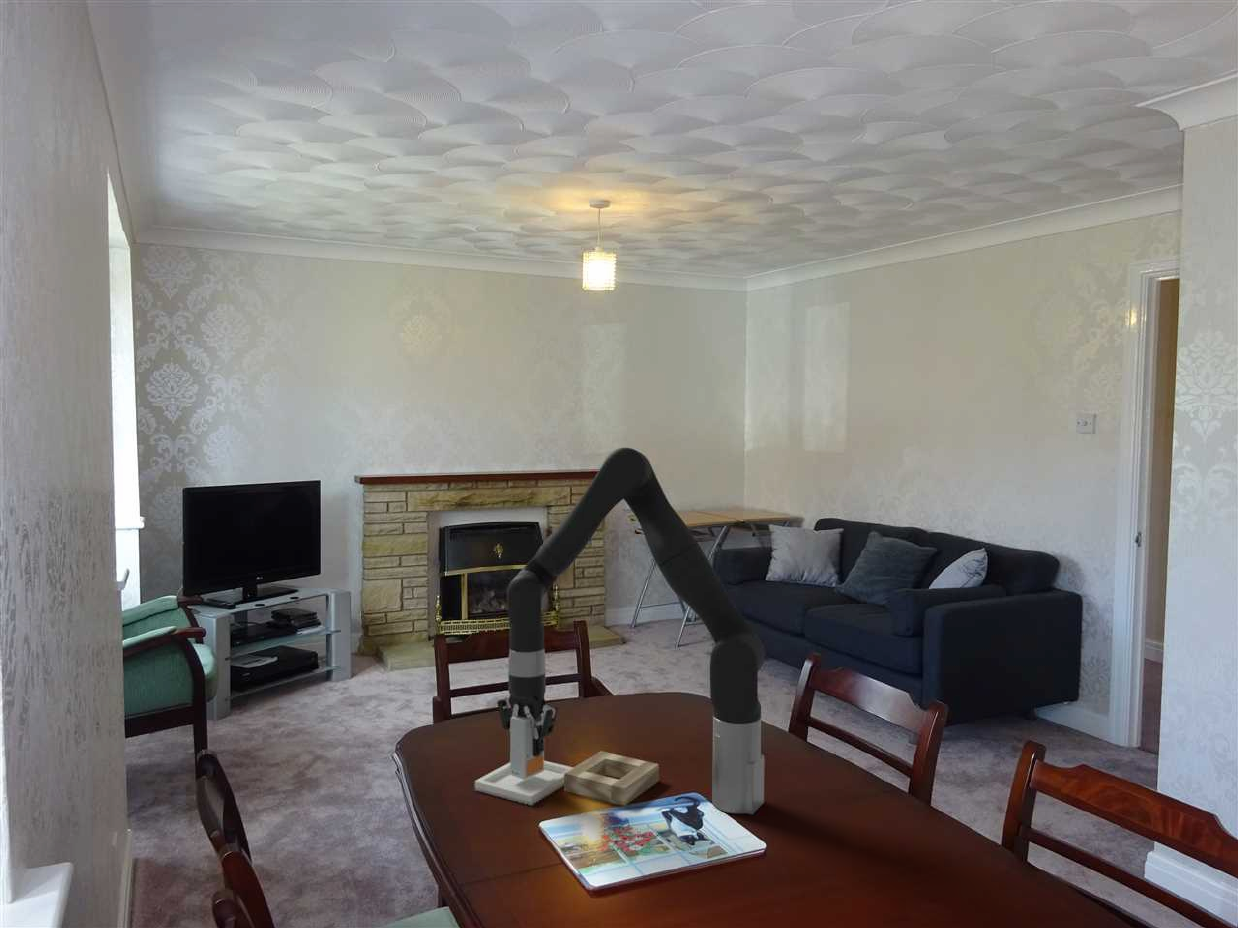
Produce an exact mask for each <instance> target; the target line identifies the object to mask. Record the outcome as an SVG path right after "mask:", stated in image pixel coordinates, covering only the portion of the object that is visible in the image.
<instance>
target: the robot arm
mask: <svg viewBox="0 0 1238 928" xmlns="http://www.w3.org/2000/svg"><path fill="white" fill-rule="evenodd" d="M623 500H624V501H625V503H626V504H627V505H628V507H629V509H630V510H631V511H632V513H633V514H634V516H635V518H636V519H637V521H638V523H639V524H640V528H641V530H642V532H643V535H644V537H645V541H646V544H647V546H648V549H649V551H650V553H651V556H652V558H653V560H654V562H655V564H656V566H657V567H658V569H659V571H660V573H661V575H662V576H663V578H664V579H665V580H666V582H667V584H668V586H669V587H670V588H671V590H672V591H673V592H674V593H675V594H676V596H678V597H679V598H680V600H682V602H684V604H686V605H687V606H688V607H689V608H690V609H691V610H692V611H693V612H694V613H695V614H696V615H697V616H698V617H699V618H700V619H701V620H702V622H703V624H704V626H705V627H706V629H707V631H708V632H709V635H710V636H711V638H712V640H713V642H714V644H715V645H714V646H713V647H712V649H711V653H710V656H709V695H710V696H709V698H710V703H711V705H712V706H711V707H712V767H711V768H712V771H711V772H712V776H711V782H712V783H711V786H712V787H711V788H712V790H711V792H712V793H711V794H712V795H711V799H712V800H711V801H712V802H711V803H712V805H713V806H714V807H715V808H716V809H718V810H720V811H722V812H726V813H731V814H749V815H753V814H755V812H756V811H758V809H760V807H761V806H762V805H763V804H764V803H765V755H764V754H762V751H761V750H762V749H761V748H762V747H761V746H762V744H761V743H762V705H761V704H762V703H761V702H760V701H759V693H758V692H759V690H758V689H759V688H758V686H759V685H758V682H759V681H758V679H759V674H758V673H759V671H760V670H761V669H762V667H763V665H764V663H765V660H766V659H765V657H766V655H765V654H766V653H765V648H764V645H763V643H762V641H761V640H760V638H759V636H758V635H757V634H756V632H755V631H754V629H753V628H752V627H751V626H750V624H749V623H748V621H746V619H745V618H744V616H743V615H742V613H741V612H740V611H739V610H738V608H737V607H736V605H735V604H734V602H733V601H732V599H731V597H730V595H729V594H728V592H727V591H726V588H725V587H724V585H723V583H722V581H721V579H720V578H719V576H718V574H717V573H716V571H715V570H714V567H713V566H712V564H711V562H710V561H709V559H708V557H707V555H706V553H705V552H704V551H703V549H702V547H701V545H700V544H699V543H698V541H697V539H696V537H694V535H693V533H692V532H691V530H690V528H689V527H688V526H687V525H686V523H685V522H684V520H683V519H682V518H681V516H680V515H679V514H678V513H677V511H676V510H675V509H674V507H673V506H672V505H671V503H670V501H669V500H668V498H667V496H666V494H665V492H664V490H663V489H662V487H661V484H660V483H659V480H658V478H657V475H656V473H655V472H654V469H653V467H652V464H651V462H650V460H649V459H648V458H647V456H645V455H644V454H643V453H641V452H640V451H638V450H636V449H634V448H630V447H621V448H620V447H619V448H617V449H614V450H612V451H611V452H610V453H609V454H608V455H607V456H606V458H605V459H604V462H603V463H602V464H601V466H600V467H599V470H598V471H597V472H596V475H595V476H594V478H593V479H592V481H591V483H590V484H589V486H588V488H587V489H586V491H585V492H584V493H583V495H582V496H581V498H580V499H579V500H578V502H577V503H576V505H574V507H573V508H572V509H571V510H570V512H569V513H568V514H567V515H566V516H565V518H563V520H562V521H561V522H560V523H559V524H558V525H557V527H555V528H554V530H553V531H552V533H551V534H550V535H549V536H548V537H547V538H546V540H545V541H544V542H543V543H542V544H541V546H539V549H537V551H536V553H535V555H534V556H533V557H532V558H531V559H530V561H528V563H526V564H525V566H524V567H523V568H522V569H521V570H520V571H519V572H518V574H516V576H514V578H513V579H511V581H510V582H509V584H508V586H507V590H506V604H507V605H506V606H507V614H508V621H509V653H508V660H507V661H508V665H507V666H508V667H507V668H508V670H507V671H508V675H507V676H508V683H507V684H508V693H509V697H503V698H501V699H499V700H497V703H496V704H497V708H498V712H499V716H500V721H501V725H502V728H503V730H508V731H509V732H510V718H512V717H518V716H519V717H525V718H527V719H528V720H530V728H532V732H533V736H534V739H533V756H535V757H538V756H540V755H541V754H542V753H543V751H544V752H545V738H546V737H548V736H550V735H552V734H553V732H554V727H555V724H556V723H555V722H556V719H557V716H558V711H559V709H558V707H557V706H553V707H551V706H549V705H548V704H547V703H546V699H545V695H546V694H545V693H546V690H547V689H546V688H547V687H546V686H547V685H546V683H547V682H546V680H547V679H546V674H547V672H546V668H547V667H546V652H545V627H544V623H543V621H542V599H543V597H544V596H545V595H546V594H547V592H549V590H550V588H551V587H552V586H553V584H554V583H555V582H556V581H557V579H558V578H559V577H560V576H561V575H562V574H564V573H565V571H567V570H568V569H569V567H570V566H571V565H572V564H573V563H574V562H575V560H576V559H577V558H578V557H579V555H581V553H582V552H583V551H584V550H585V548H586V547H587V546H588V544H589V542H590V541H591V539H592V538H593V536H594V535H595V533H596V531H597V529H598V528H599V526H600V525H601V523H602V522H603V521H604V519H605V518H606V517H607V516H608V514H610V512H611V511H612V510H613V509H614V507H616V506H617V505H618V504H620V502H622V501H623ZM542 714H544V715H543V716H544V720H543V716H542ZM539 717H540V719H539V721H537V722H535V721H534V720H536V719H538V718H539Z"/></svg>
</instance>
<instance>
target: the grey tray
mask: <svg viewBox="0 0 1238 928" xmlns="http://www.w3.org/2000/svg"><path fill="white" fill-rule="evenodd" d="M572 768H574V767H572V766H568V765H565V764H560V763H556V762H551V761H547V760H544V771H543V772H541V773H538V774H536V775H534V776H532V777H529V778H527V779H525V780H523V779H520V778H517V777H514V776H511V775H510V761H509V762H507V763H505V764H504V765H503V766H500V767H499V768H496V769H495V770H493V771H491V772H489V773H488V774H485V775H484V776H482V777H480V778H479V779H476V780H474V791H477V792H480V793H485V794H487V795H491V796H495V797H498V796H499V798H503V799H505V798H506V800H509V801H513V802H516V801H517V803H519V804H523V803H524V804H523V805H527V804H528V806H533V805H535V804H537V803H538V802H540V801H541V800H543V799H545V798H546V797H548V796H549V795H551V794H552V793H554V792H555V791H557V790H559V789H560V788H562V787H564V773H566V772H567V771H569V770H571V769H572ZM545 796H546V797H545ZM542 798H543V799H542ZM539 800H540V801H539ZM536 802H537V803H536ZM534 803H535V804H534Z"/></svg>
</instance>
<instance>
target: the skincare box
mask: <svg viewBox="0 0 1238 928" xmlns="http://www.w3.org/2000/svg"><path fill="white" fill-rule="evenodd" d="M543 715H544V713H542V716H543ZM544 718H545V717H544V716H543V720H544ZM539 719H540V717H539V718H538V719H536V720H534V721H535V722H537V721H539ZM509 733H510V734H509V739H510V741H509V743H510V744H509V747H510V749H509V751H510V752H509V762H510V775H511V776H514V777H517V778H520V779H523V780H525V779H527V778H529V777H532V776H534V775H536V774H538V773H541V772H543V771H544V761H545V750H544V751H543V753H542V754H541V755H540V756H538V757H535V756H533V739H534V736H533V732H532V728H530V720H528V719H527V718H525V717H519V716H518V717H512V718H510V731H509Z"/></svg>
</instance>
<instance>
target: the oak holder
mask: <svg viewBox="0 0 1238 928" xmlns="http://www.w3.org/2000/svg"><path fill="white" fill-rule="evenodd" d="M659 765H660V764H659V763H655V762H652V761H648V760H647V761H646V760H642V759H638V758H633V757H629V756H624V755H619V754H616V753H611V752H607V751H603V750H600V751H599V752H596V753H595V754H593V755H592V756H590V757H589V758H586V759H585V760H584V761H582V762H580V763H579V764H577V765H575V766H574V767H573V768H572V769H571V770H569V771H567V772H566V773H564V785H563V791H564V792H568V793H572V794H575V795H580V796H583V797H587V798H591V799H596V800H599V801H602V802H606V803H610V804H615V805H617V806H622V807H626V806H627V805H628V804H629V803H631V802H633V801H634V800H635V799H637V797H639V796H640V795H642V794H643V793H645V792H646V791H647V790H649V789H650V788H651V787H652V786H654V785H655V784H657V783H658V782H659V780H660V779H659V778H660V777H659V775H660V773H659V772H660V771H659V769H660V768H659V767H660V766H659ZM617 778H618V779H617Z"/></svg>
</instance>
